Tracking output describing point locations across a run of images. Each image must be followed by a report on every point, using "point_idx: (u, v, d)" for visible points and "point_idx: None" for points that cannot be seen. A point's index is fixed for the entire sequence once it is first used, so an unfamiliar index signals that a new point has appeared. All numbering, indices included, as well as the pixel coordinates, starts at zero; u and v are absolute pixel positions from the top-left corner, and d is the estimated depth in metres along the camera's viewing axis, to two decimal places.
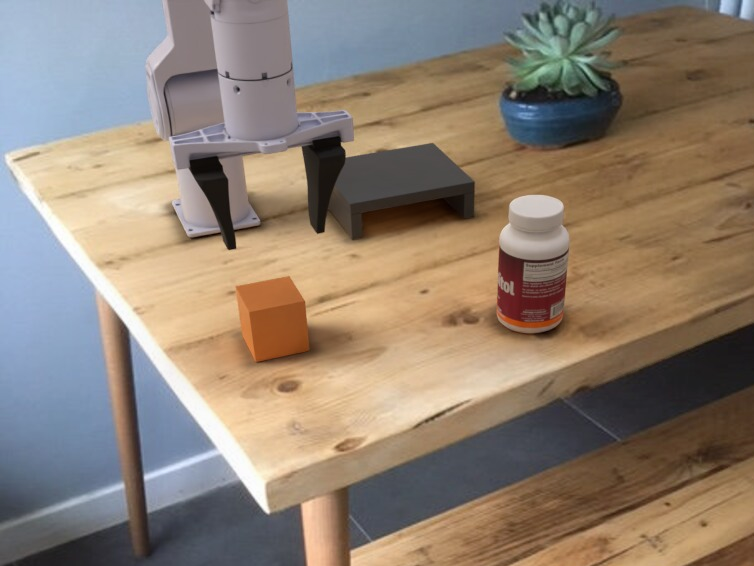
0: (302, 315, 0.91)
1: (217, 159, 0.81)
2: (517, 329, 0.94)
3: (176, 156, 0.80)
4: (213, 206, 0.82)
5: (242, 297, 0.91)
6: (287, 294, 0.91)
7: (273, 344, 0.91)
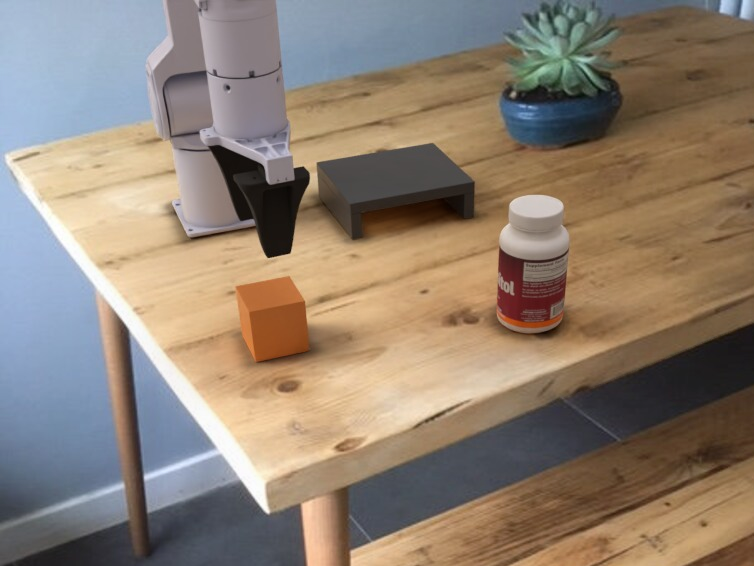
0: (302, 315, 0.91)
1: None
2: (517, 329, 0.94)
3: None
4: (220, 168, 0.88)
5: (242, 297, 0.91)
6: (287, 294, 0.91)
7: (273, 344, 0.91)
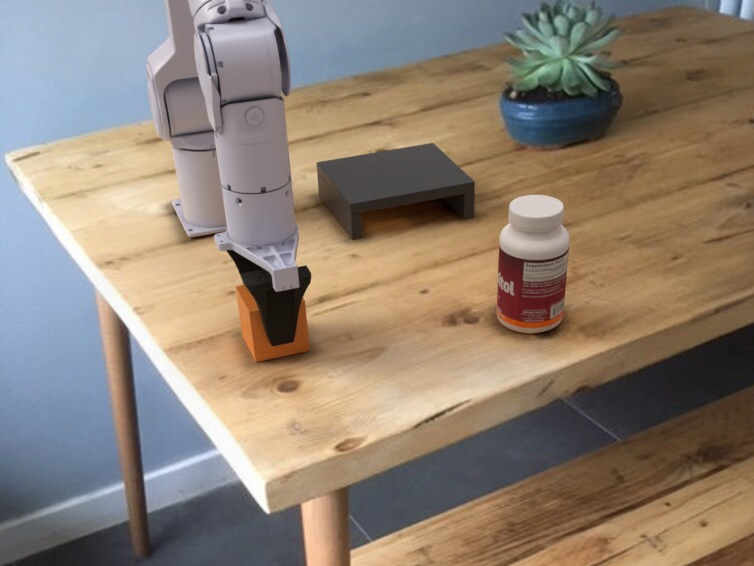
0: (302, 315, 0.91)
1: None
2: (517, 329, 0.94)
3: None
4: (237, 268, 0.93)
5: (242, 297, 0.91)
6: None
7: None
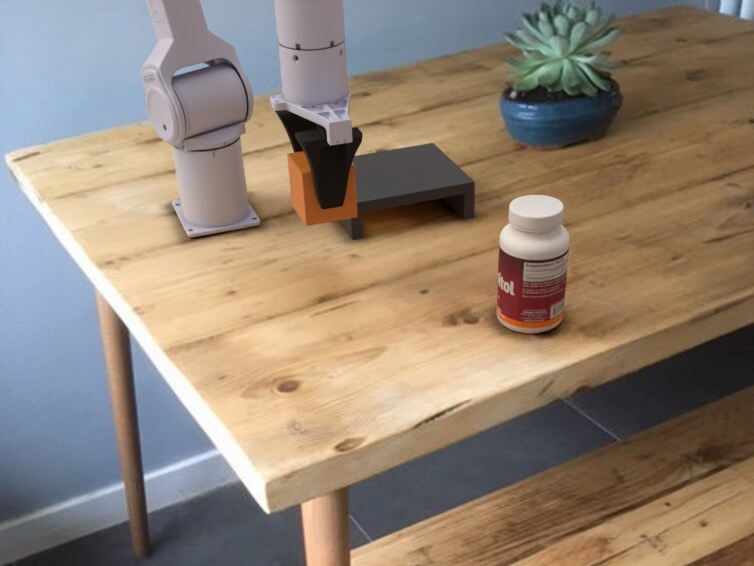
0: (352, 179, 0.94)
1: None
2: (517, 329, 0.94)
3: None
4: None
5: (294, 162, 0.94)
6: None
7: None
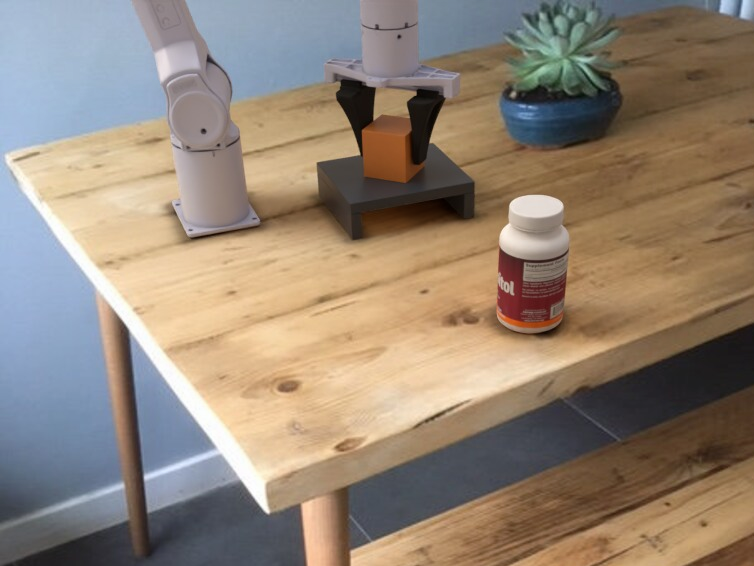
0: None
1: (358, 83, 1.07)
2: (517, 329, 0.94)
3: (324, 72, 1.08)
4: (347, 117, 1.09)
5: (381, 132, 1.08)
6: (405, 121, 1.10)
7: (412, 164, 1.11)
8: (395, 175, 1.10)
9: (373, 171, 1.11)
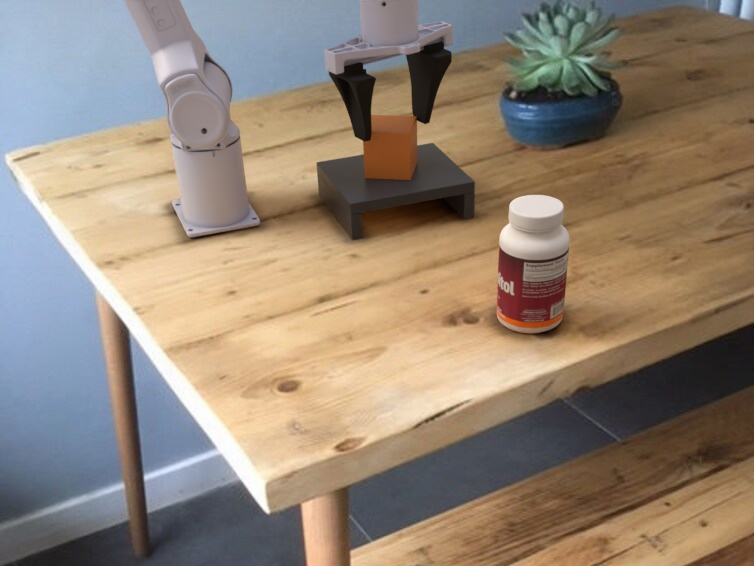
0: (416, 129, 1.12)
1: (362, 64, 1.03)
2: (517, 329, 0.94)
3: (336, 63, 1.01)
4: (360, 103, 1.04)
5: (384, 132, 1.08)
6: (399, 119, 1.11)
7: (413, 160, 1.11)
8: (399, 173, 1.11)
9: (375, 172, 1.11)
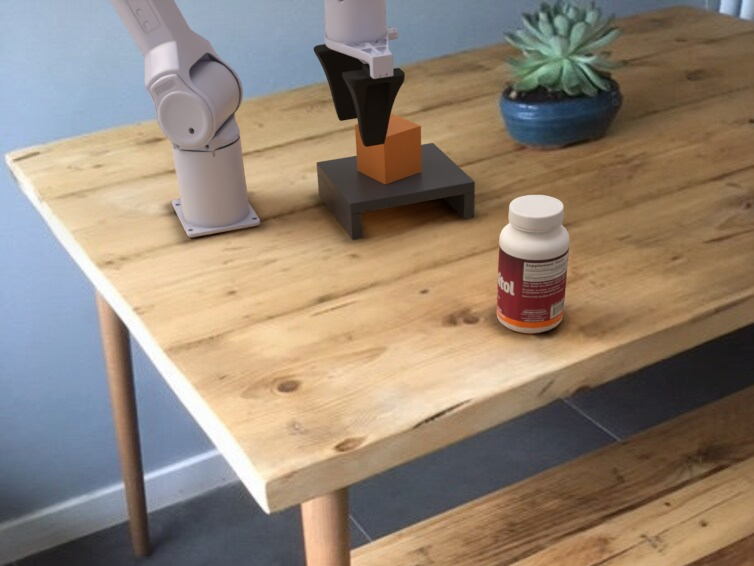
0: None
1: None
2: (517, 329, 0.94)
3: None
4: (394, 100, 0.99)
5: (400, 131, 1.08)
6: None
7: None
8: (412, 168, 1.12)
9: (394, 174, 1.10)
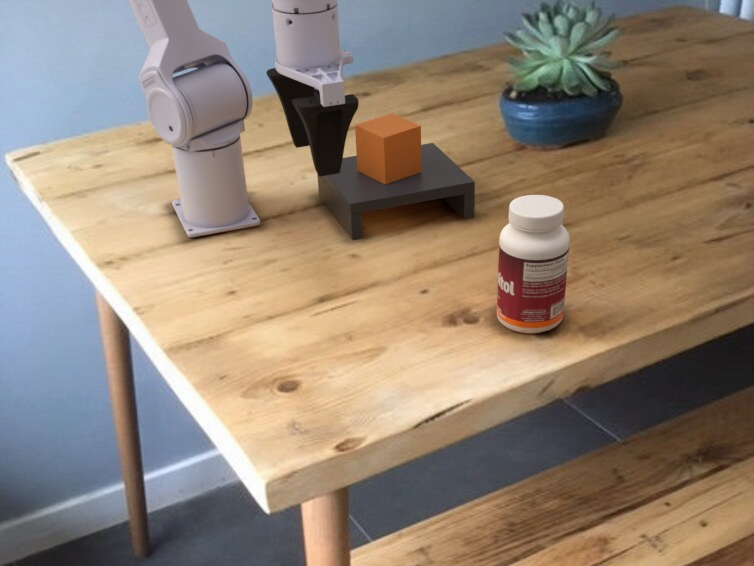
0: None
1: None
2: (517, 329, 0.94)
3: (344, 90, 0.89)
4: (348, 128, 0.94)
5: (400, 131, 1.08)
6: (386, 119, 1.11)
7: None
8: (412, 168, 1.12)
9: (394, 174, 1.10)
